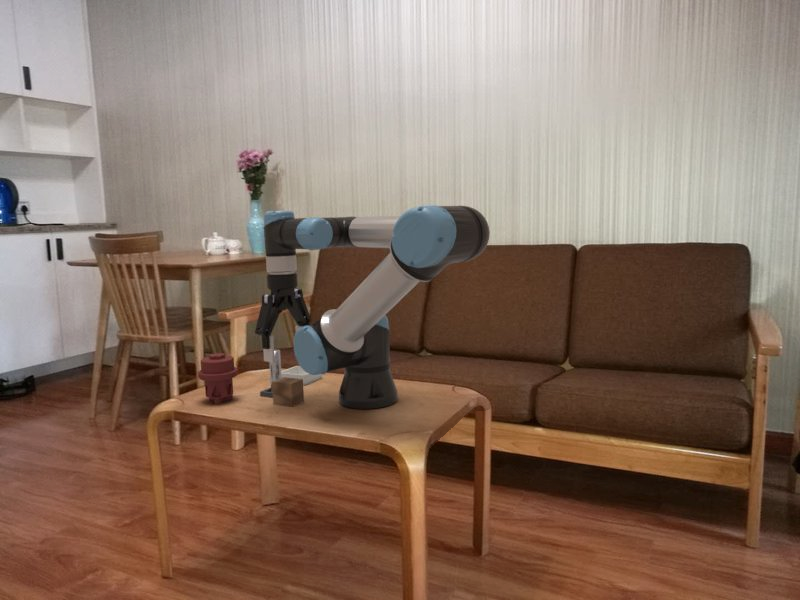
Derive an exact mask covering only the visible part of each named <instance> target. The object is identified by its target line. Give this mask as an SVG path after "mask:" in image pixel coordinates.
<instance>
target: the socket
mask: <svg viewBox="0 0 800 600" xmlns="http://www.w3.org/2000/svg"><path fill="white" fill-rule="evenodd" d="M259 395H260V397H264V398H265V397H266V398H272V399H273V392H271V387H268V388H265V389H263V390H261V391H260V392H259Z"/></svg>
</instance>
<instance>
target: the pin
mask: <svg viewBox="0 0 800 600" xmlns="http://www.w3.org/2000/svg"><path fill="white" fill-rule="evenodd" d="M274 356H275V362H268V363H269V377H270V379H269V380H270V388H271V392H273V390H272V382H273V381H275V380H278V379H281V378H282V376H281V371H282V360H281V350H280V349H274Z"/></svg>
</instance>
